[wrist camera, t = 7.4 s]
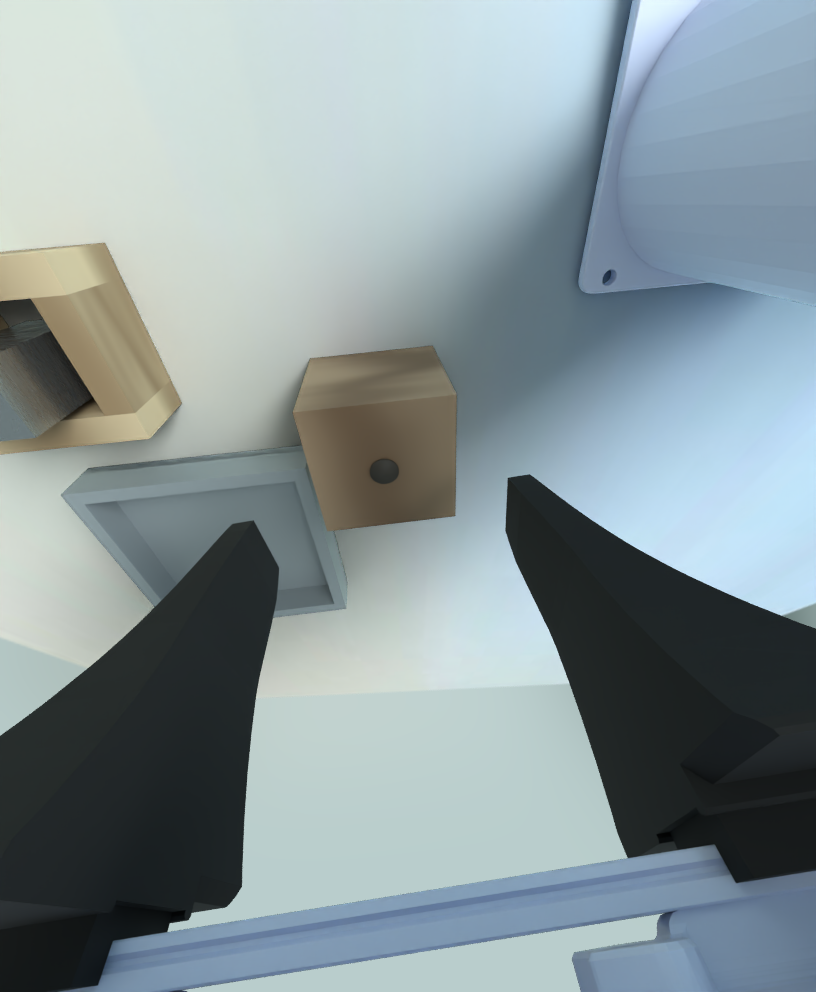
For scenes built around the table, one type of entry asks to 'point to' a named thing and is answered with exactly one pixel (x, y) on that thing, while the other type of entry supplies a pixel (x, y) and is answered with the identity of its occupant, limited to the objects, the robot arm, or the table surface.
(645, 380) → the table surface
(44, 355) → the gray metal block
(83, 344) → the wooden square frame
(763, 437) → the table surface
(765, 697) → the robot arm
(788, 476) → the table surface
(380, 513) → the walnut block
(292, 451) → the tray
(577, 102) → the table surface
